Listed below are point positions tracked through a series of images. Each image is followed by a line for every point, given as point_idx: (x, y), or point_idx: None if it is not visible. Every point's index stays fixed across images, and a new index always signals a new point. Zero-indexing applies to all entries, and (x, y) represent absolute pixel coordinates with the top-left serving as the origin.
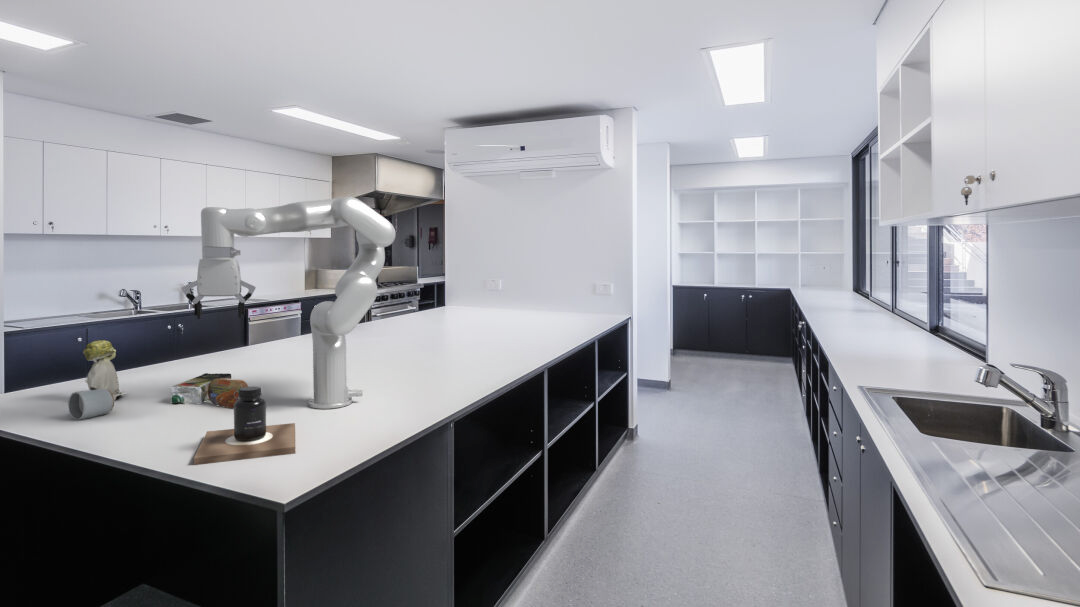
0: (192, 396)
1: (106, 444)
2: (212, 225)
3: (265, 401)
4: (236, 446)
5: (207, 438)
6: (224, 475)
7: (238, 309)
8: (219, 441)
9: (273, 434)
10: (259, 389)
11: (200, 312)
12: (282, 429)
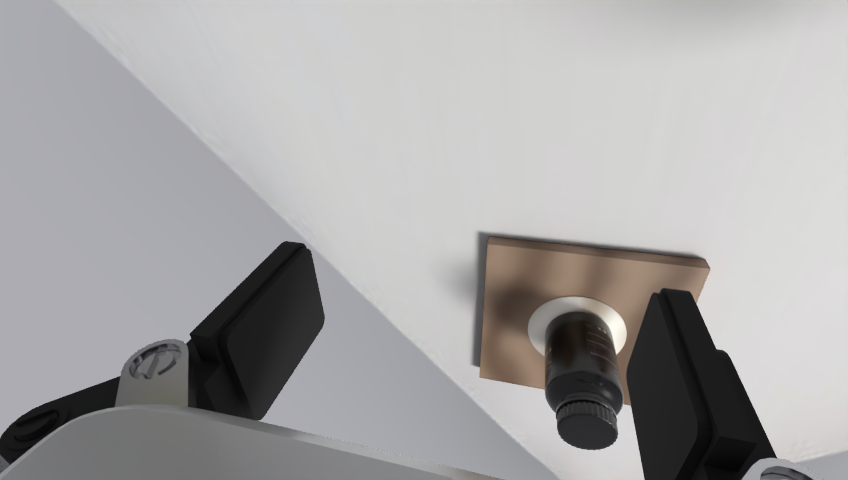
0: None
1: (303, 197)
2: None
3: (623, 403)
4: None
5: (492, 292)
6: (526, 420)
7: (640, 447)
8: (516, 320)
9: (630, 329)
10: (610, 443)
11: (300, 348)
12: None
